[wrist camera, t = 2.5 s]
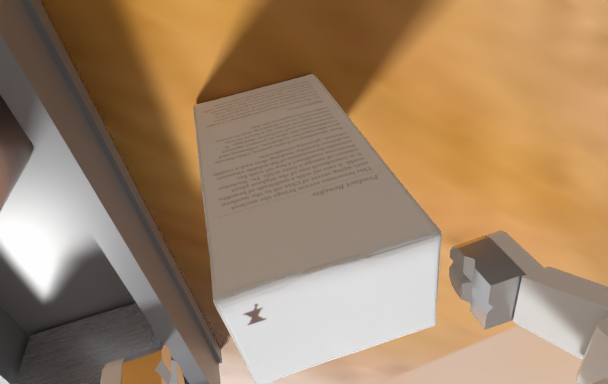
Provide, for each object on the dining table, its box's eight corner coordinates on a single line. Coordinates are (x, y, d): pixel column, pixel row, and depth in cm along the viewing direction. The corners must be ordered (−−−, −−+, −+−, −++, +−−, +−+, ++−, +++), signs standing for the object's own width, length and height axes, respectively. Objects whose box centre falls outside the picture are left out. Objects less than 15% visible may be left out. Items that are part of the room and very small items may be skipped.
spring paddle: (153, 297, 24) (147, 398, 19) (161, 310, 24) (157, 411, 20) (30, 335, 23) (-8, 449, 18) (42, 347, 24) (9, 460, 19)
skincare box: (218, 177, 22) (250, 393, 12) (191, 102, 19) (205, 302, 10) (329, 146, 22) (441, 329, 13) (317, 69, 20) (446, 228, 10)
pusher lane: (32, -15, 15) (-49, 35, 10) (220, 349, 30) (231, 453, 24) (-264, 52, 14) (-538, 150, 9) (78, 395, 29) (55, 514, 23)
